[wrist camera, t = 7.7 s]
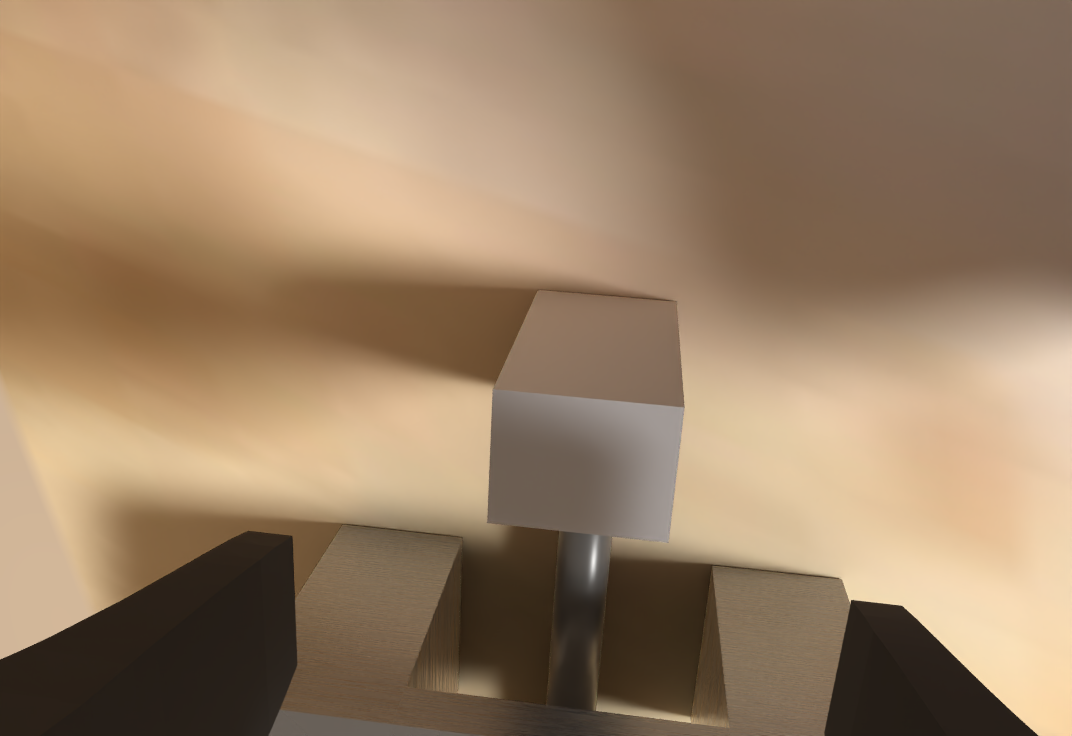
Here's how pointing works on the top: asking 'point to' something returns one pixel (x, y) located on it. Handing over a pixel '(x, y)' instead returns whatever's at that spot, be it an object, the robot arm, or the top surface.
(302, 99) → the top surface
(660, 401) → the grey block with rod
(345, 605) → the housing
